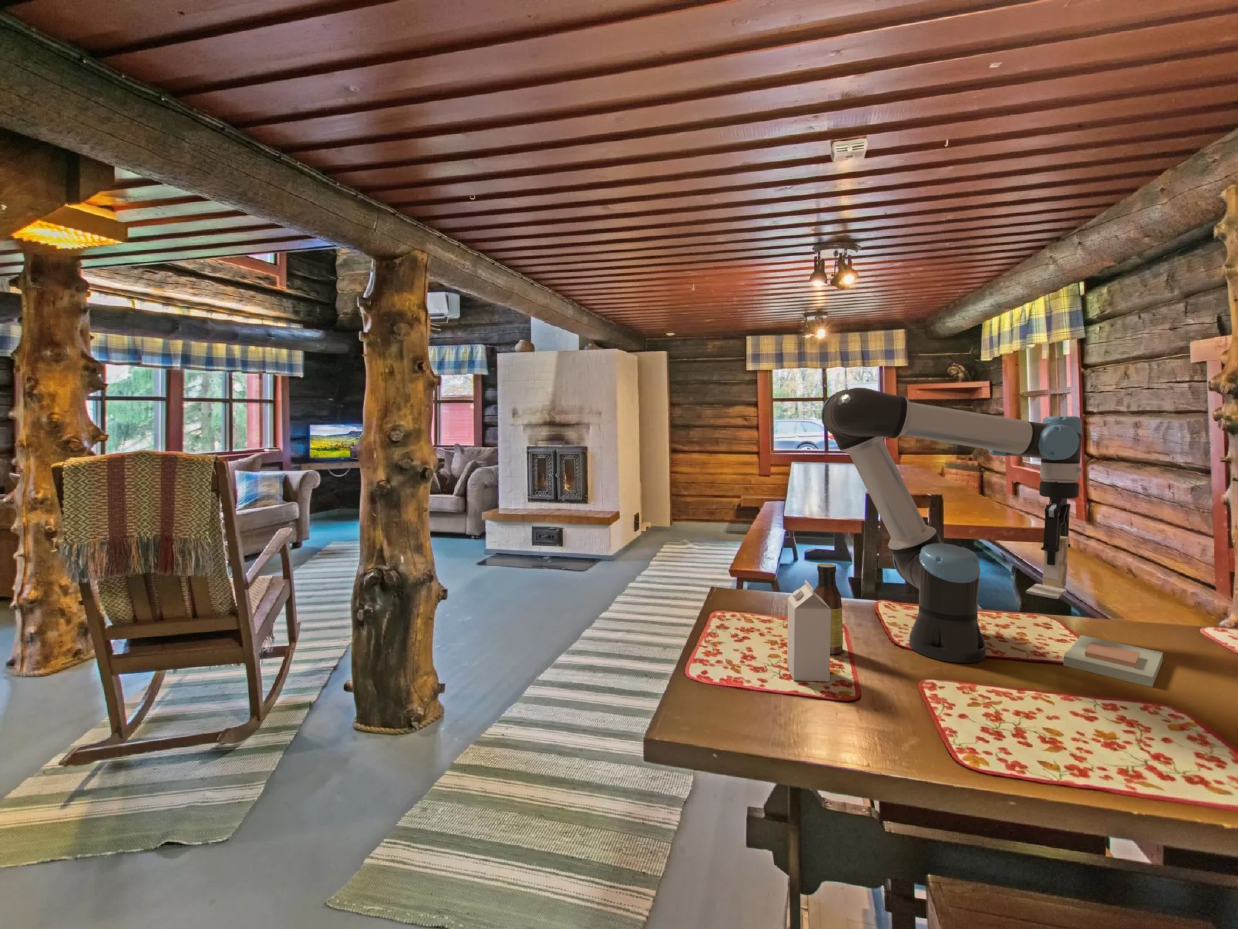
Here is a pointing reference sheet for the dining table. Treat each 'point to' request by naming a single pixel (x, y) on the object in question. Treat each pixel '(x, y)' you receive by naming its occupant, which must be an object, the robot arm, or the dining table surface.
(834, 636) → the sauce bottle
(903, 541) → the robot arm
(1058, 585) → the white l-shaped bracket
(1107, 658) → the tile
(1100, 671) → the grooved block
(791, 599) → the milk carton
